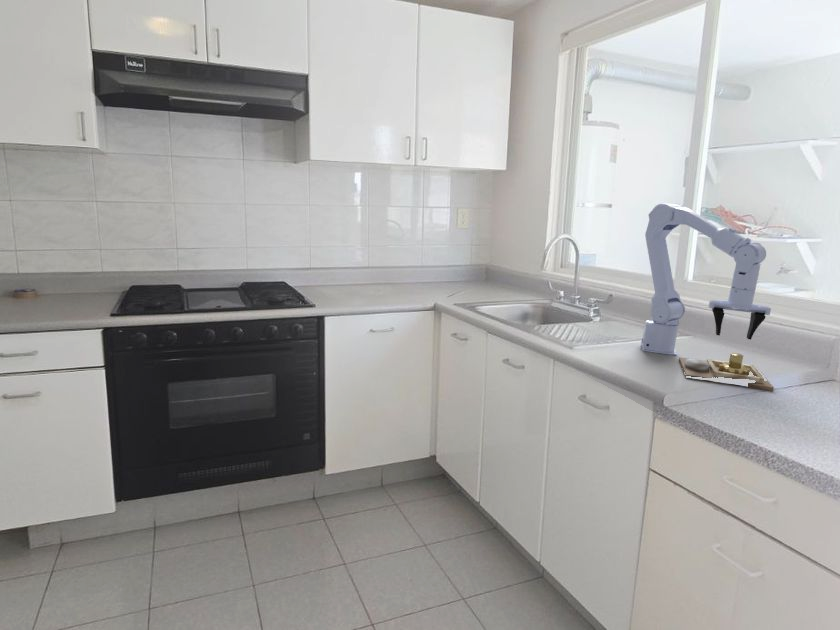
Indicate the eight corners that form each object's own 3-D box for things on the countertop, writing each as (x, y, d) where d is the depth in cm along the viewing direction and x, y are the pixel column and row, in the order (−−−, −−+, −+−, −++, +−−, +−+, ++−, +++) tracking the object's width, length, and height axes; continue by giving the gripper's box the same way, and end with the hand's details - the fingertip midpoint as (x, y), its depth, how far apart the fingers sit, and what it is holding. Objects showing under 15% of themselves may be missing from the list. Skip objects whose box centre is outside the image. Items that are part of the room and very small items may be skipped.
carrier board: (685, 378, 144) (687, 369, 143) (678, 360, 158) (680, 352, 158) (772, 391, 138) (774, 381, 137) (757, 371, 152) (758, 362, 152)
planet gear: (720, 374, 145) (724, 356, 144) (716, 366, 152) (719, 349, 150) (751, 379, 143) (755, 360, 142) (745, 370, 149) (749, 353, 148)
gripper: (715, 287, 147) (706, 336, 150) (777, 294, 142) (766, 344, 145) (711, 283, 153) (702, 330, 156) (770, 289, 148) (760, 337, 152)
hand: (733, 336), depth 151 cm, fingers open, 7 cm apart
